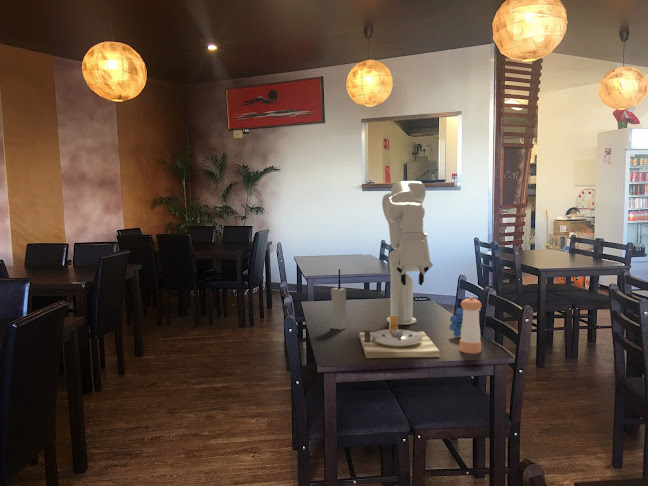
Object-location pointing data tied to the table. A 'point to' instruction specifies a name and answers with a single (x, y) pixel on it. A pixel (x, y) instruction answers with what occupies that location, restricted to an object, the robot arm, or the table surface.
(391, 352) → the base board
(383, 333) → the flange
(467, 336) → the pepper shaker
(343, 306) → the vintage mobile phone
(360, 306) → the table surface
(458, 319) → the grapes
